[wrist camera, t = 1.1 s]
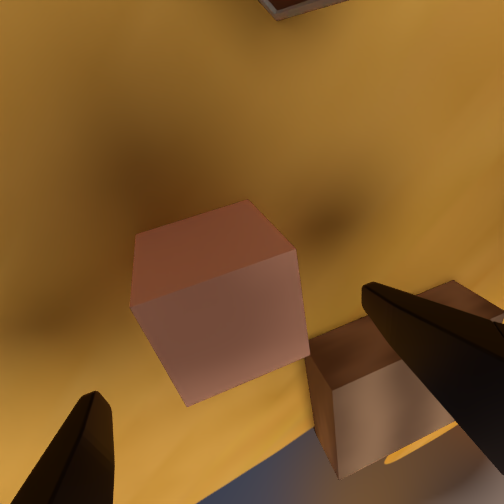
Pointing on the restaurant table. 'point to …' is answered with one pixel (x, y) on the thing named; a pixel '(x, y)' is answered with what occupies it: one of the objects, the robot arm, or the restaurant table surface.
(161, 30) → the restaurant table surface
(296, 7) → the food container
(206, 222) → the terracotta cube
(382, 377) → the walnut block
